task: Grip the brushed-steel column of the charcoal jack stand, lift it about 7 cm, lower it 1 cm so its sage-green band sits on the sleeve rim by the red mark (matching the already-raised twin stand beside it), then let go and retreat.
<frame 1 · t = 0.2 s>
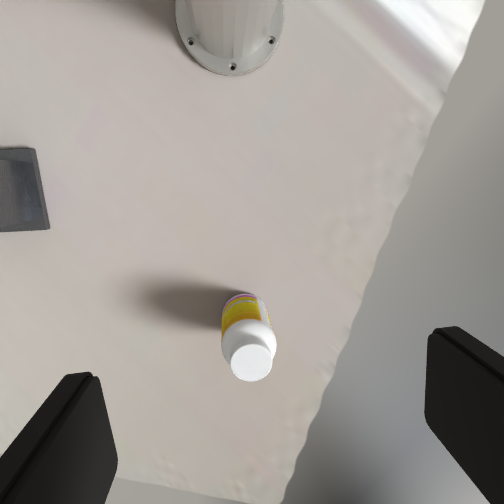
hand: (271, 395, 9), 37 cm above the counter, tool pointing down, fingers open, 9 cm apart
supplement bottle: (244, 312, 48), on the counter
stand sleeve: (2, 191, 42), on the counter
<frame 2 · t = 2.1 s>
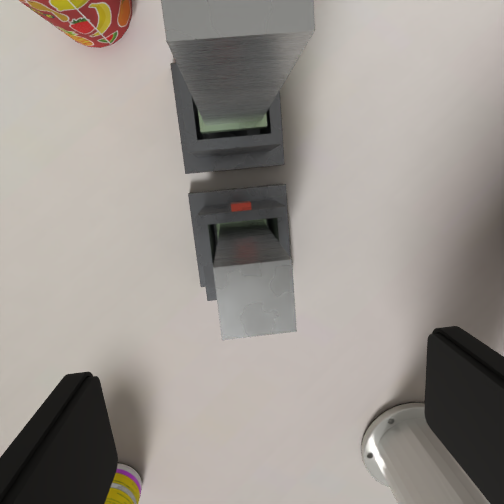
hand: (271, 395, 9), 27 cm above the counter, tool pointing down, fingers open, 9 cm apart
supplement bottle: (117, 480, 42), on the counter
twin stand: (229, 117, 33), on the counter
smoothie: (99, 13, 30), on the counter
column: (246, 258, 26), point 10 cm above the counter, slide at 0.0 cm
stand sleeve: (241, 235, 35), on the counter
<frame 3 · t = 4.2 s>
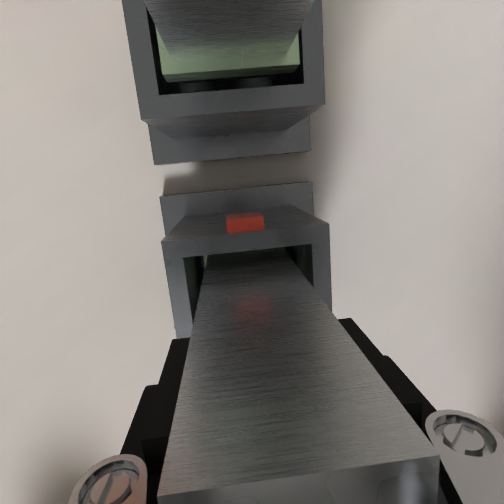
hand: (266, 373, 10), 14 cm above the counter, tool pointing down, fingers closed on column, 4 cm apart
twin stand: (224, 76, 21), on the counter
column: (255, 320, 14), point 10 cm above the counter, slide at 0.0 cm, touching gripper
stand sleeve: (243, 259, 24), on the counter
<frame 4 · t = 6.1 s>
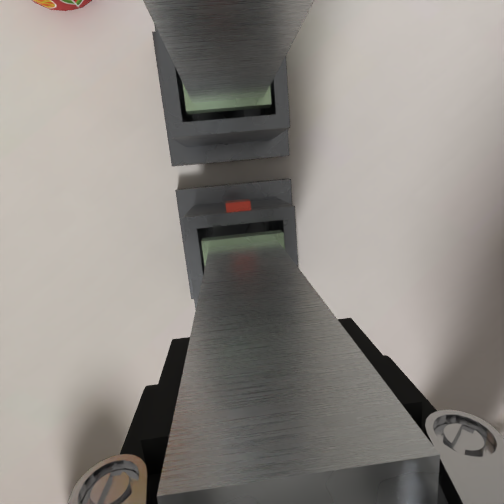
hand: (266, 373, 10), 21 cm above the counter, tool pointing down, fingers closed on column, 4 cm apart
twin stand: (224, 99, 28), on the counter
column: (255, 320, 14), point 17 cm above the counter, slide at 7.2 cm, touching gripper
stand sleeve: (238, 238, 30), on the counter
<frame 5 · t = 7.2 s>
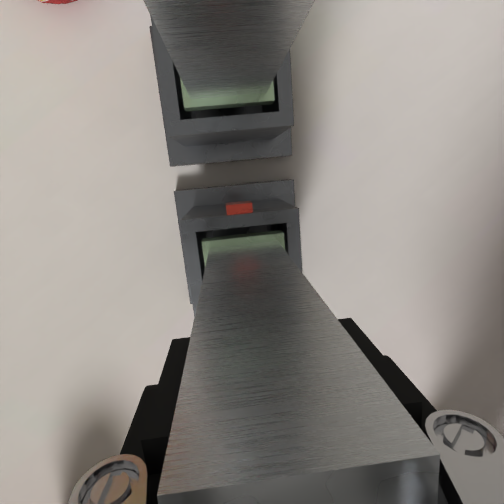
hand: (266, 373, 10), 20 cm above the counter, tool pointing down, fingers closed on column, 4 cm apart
twin stand: (224, 97, 26), on the counter
column: (256, 320, 14), point 16 cm above the counter, slide at 6.1 cm, touching gripper
stand sleeve: (239, 241, 29), on the counter
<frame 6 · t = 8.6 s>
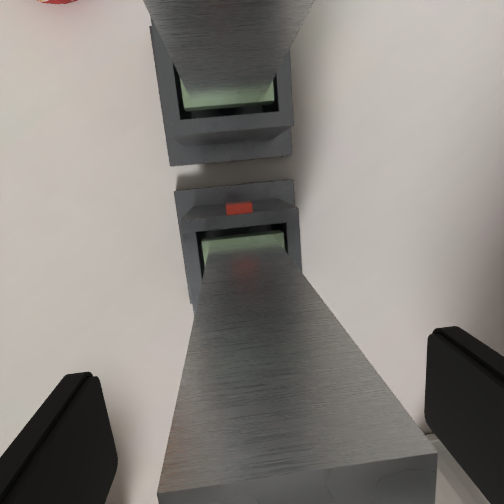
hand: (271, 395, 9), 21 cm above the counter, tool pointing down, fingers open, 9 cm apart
twin stand: (224, 97, 27), on the counter
column: (255, 320, 14), point 16 cm above the counter, slide at 6.1 cm
stand sleeve: (239, 241, 29), on the counter
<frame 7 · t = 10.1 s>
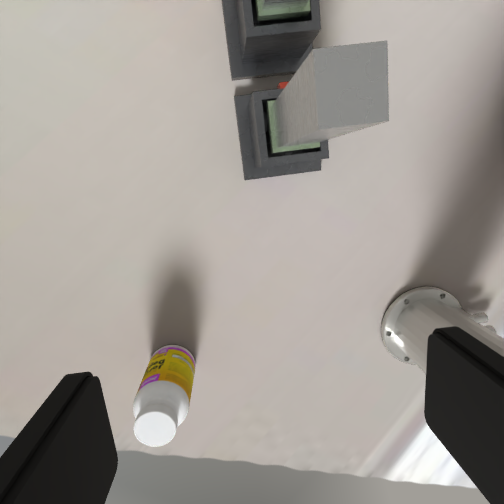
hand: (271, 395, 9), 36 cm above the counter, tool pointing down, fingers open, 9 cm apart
supplement bottle: (173, 362, 49), on the counter
twin stand: (267, 29, 39), on the counter
column: (309, 114, 26), point 16 cm above the counter, slide at 6.1 cm
stand sleeve: (278, 135, 42), on the counter
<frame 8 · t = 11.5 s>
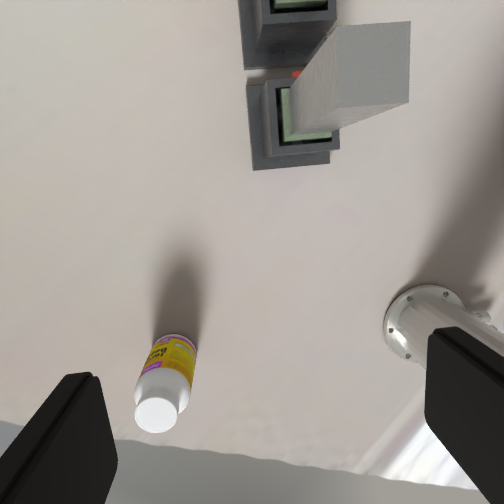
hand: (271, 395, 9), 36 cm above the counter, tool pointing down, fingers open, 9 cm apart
supplement bottle: (174, 352, 49), on the counter
twin stand: (281, 21, 39), on the counter
column: (324, 100, 26), point 16 cm above the counter, slide at 6.1 cm
stand sleeve: (287, 127, 42), on the counter
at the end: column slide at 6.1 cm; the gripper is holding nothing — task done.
